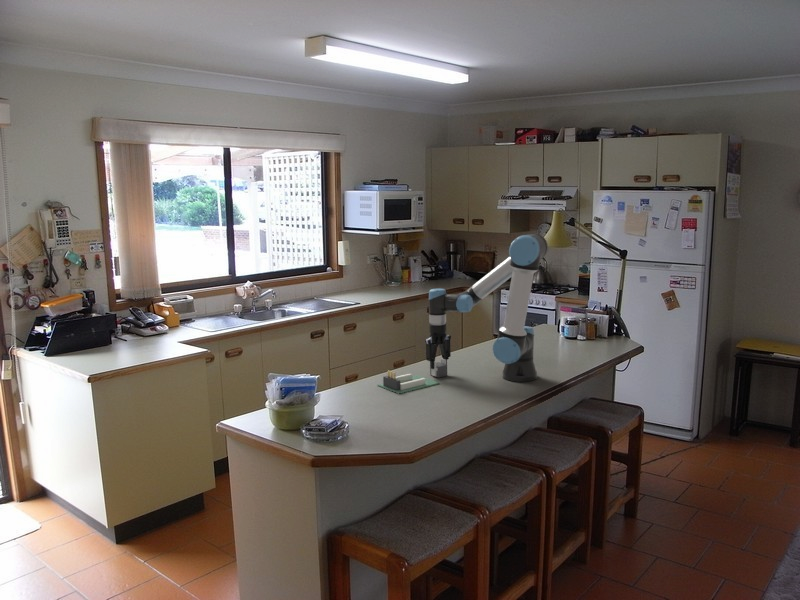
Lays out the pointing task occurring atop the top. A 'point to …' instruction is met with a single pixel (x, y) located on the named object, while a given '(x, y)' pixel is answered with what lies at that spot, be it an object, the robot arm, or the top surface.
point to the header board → (427, 383)
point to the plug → (440, 370)
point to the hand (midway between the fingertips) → (438, 374)
